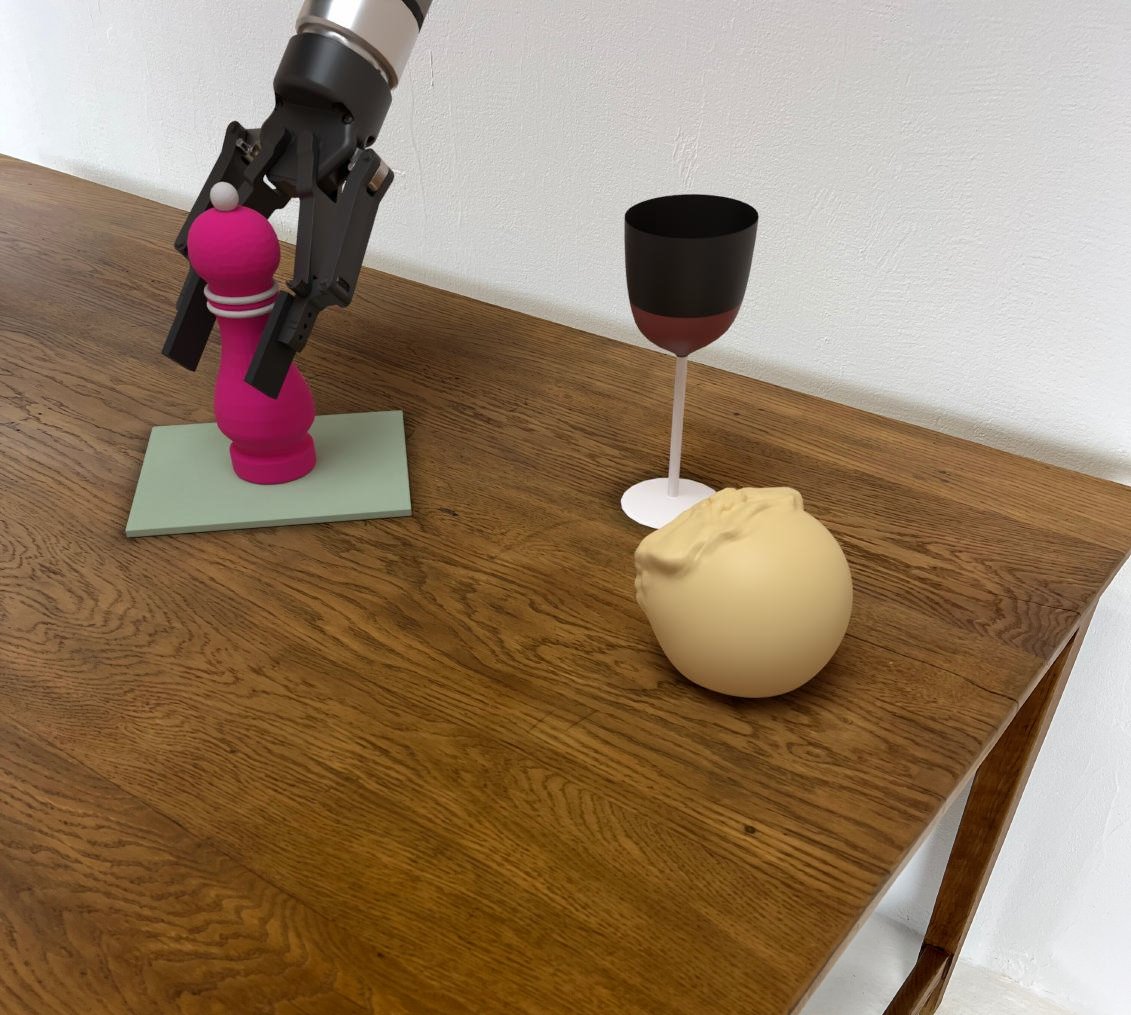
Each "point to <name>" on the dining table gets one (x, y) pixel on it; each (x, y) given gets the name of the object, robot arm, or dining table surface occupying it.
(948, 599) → the dining table surface
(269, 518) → the placemat
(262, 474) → the pepper mill
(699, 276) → the wineglass
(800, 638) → the sculpture
